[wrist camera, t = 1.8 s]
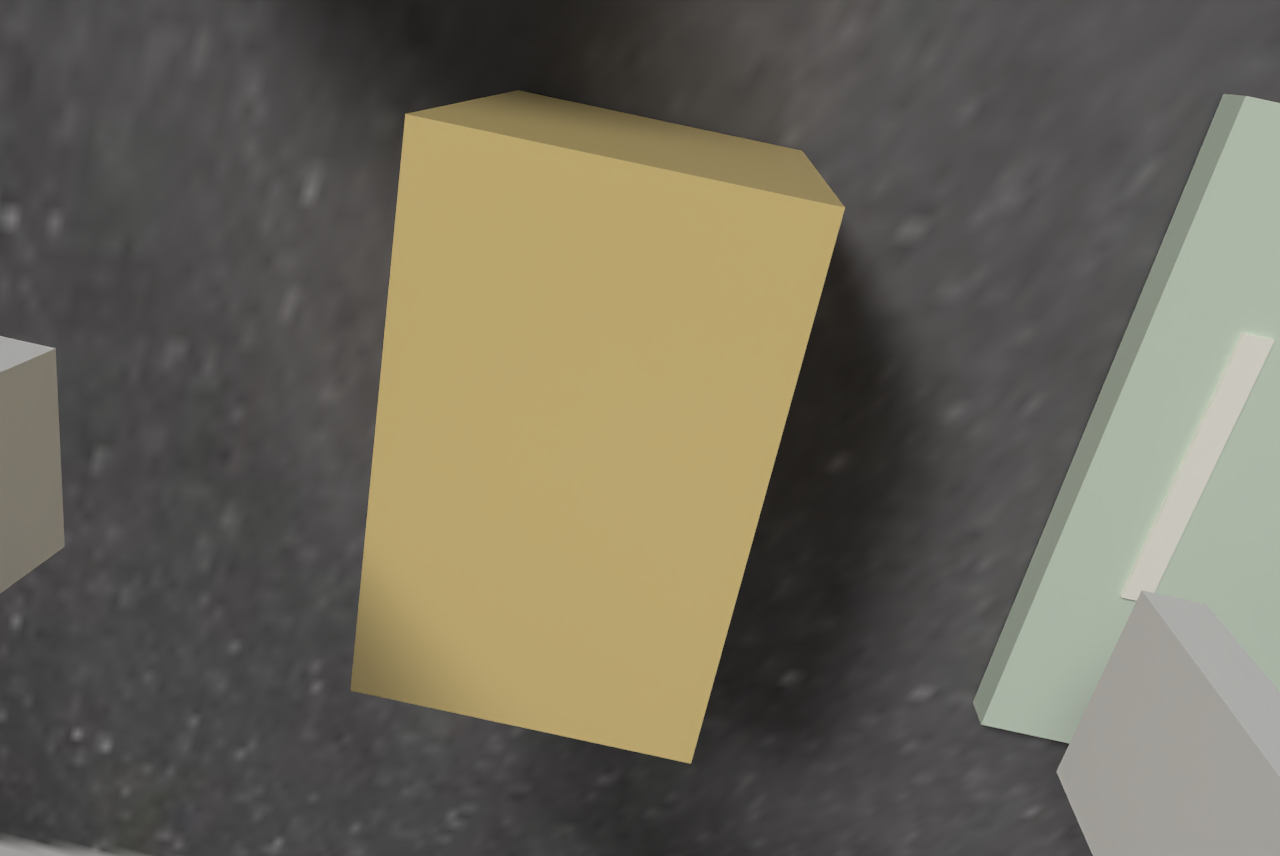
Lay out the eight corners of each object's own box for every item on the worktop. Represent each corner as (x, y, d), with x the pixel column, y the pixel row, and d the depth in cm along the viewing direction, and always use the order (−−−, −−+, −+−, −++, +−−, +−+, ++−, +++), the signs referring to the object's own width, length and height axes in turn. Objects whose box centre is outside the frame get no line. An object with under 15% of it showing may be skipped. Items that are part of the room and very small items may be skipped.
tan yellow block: (462, 498, 22) (350, 690, 15) (518, 90, 18) (405, 114, 12) (701, 549, 22) (691, 763, 15) (802, 150, 18) (844, 207, 12)
